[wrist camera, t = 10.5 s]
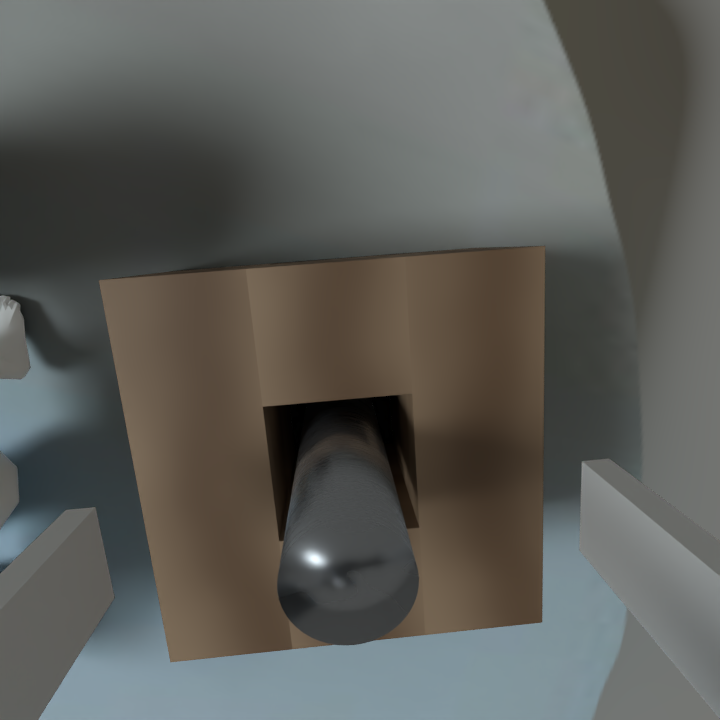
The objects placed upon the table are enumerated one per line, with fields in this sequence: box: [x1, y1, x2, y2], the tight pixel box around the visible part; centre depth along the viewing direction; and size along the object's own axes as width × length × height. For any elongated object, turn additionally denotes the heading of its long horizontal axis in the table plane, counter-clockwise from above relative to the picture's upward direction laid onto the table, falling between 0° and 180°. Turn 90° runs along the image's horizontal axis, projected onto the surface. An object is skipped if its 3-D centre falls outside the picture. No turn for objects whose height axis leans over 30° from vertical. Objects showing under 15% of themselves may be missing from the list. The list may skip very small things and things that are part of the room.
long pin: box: [277, 397, 419, 645], centre depth 18 cm, size 3×3×14 cm
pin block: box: [99, 246, 545, 662], centre depth 21 cm, size 14×14×8 cm
